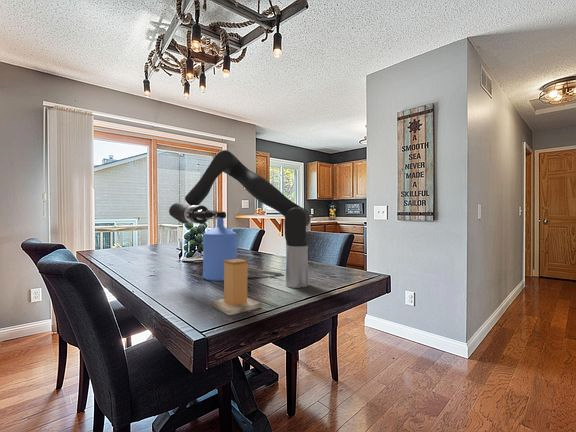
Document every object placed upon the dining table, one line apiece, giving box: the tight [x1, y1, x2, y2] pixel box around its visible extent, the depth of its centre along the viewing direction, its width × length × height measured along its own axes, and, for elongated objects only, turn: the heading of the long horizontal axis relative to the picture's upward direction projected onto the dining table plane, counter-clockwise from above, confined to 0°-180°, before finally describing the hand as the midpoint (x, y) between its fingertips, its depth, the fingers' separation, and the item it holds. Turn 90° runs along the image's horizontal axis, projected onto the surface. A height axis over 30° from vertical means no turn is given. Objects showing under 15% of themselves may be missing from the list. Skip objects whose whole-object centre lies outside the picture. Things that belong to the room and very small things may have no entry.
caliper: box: [247, 266, 285, 278], centre depth 148 cm, size 20×1×6 cm, turn 106°
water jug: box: [202, 218, 238, 282], centre depth 144 cm, size 16×16×28 cm
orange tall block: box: [223, 258, 249, 306], centre depth 103 cm, size 6×6×14 cm
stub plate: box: [210, 296, 262, 316], centre depth 103 cm, size 12×12×6 cm
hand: (214, 215), depth 117 cm, fingers open, 8 cm apart
